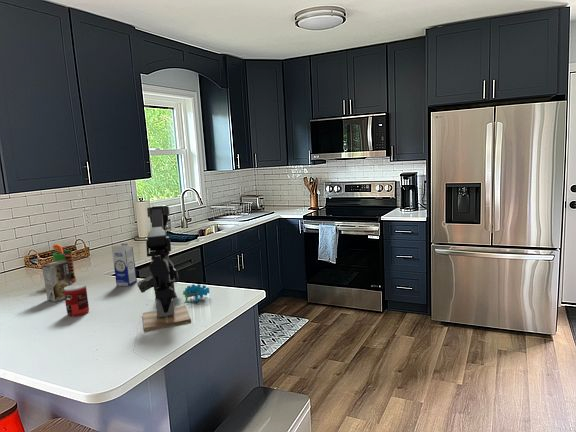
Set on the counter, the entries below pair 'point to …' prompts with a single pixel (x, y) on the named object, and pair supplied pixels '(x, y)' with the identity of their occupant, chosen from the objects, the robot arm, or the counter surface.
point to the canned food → (76, 300)
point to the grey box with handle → (161, 312)
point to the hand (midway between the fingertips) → (165, 309)
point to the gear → (195, 291)
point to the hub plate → (166, 318)
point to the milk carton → (124, 265)
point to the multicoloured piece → (64, 259)
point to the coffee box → (56, 279)
